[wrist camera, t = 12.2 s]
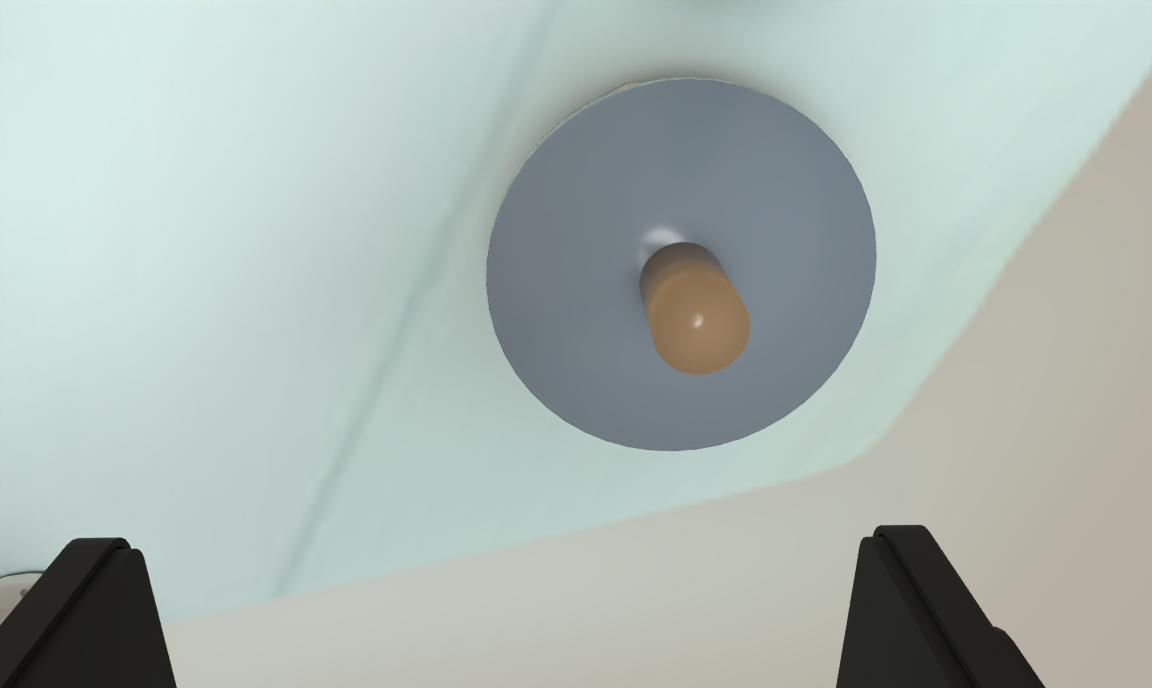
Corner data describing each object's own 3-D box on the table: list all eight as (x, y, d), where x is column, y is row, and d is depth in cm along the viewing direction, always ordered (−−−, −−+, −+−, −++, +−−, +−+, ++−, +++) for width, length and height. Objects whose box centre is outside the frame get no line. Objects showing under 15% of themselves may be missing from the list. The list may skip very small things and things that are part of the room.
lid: (842, 434, 40) (890, 512, 34) (496, 440, 39) (487, 521, 34) (892, 75, 33) (962, 97, 27) (478, 78, 33) (463, 102, 27)
